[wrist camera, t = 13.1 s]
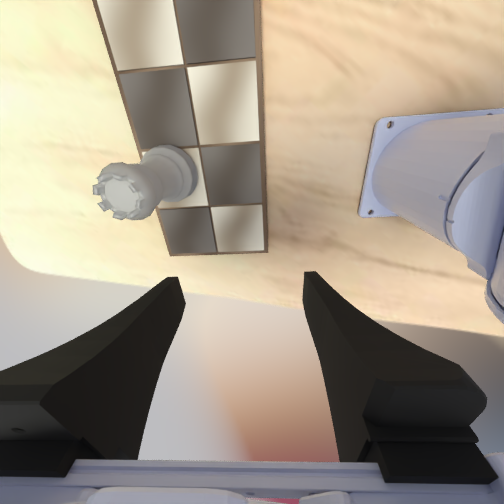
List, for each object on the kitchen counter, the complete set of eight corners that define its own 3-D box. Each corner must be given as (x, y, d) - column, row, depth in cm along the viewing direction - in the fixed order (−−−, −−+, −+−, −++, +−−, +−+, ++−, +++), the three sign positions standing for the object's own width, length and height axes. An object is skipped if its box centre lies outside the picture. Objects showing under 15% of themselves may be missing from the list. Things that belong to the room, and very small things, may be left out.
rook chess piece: (206, 192, 19) (173, 226, 12) (162, 204, 19) (106, 243, 12) (186, 137, 16) (131, 138, 10) (137, 153, 17) (53, 165, 10)
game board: (257, -56, 12) (257, -70, 11) (267, 248, 22) (268, 253, 21) (89, -32, 13) (76, -44, 12) (172, 252, 23) (169, 257, 22)
